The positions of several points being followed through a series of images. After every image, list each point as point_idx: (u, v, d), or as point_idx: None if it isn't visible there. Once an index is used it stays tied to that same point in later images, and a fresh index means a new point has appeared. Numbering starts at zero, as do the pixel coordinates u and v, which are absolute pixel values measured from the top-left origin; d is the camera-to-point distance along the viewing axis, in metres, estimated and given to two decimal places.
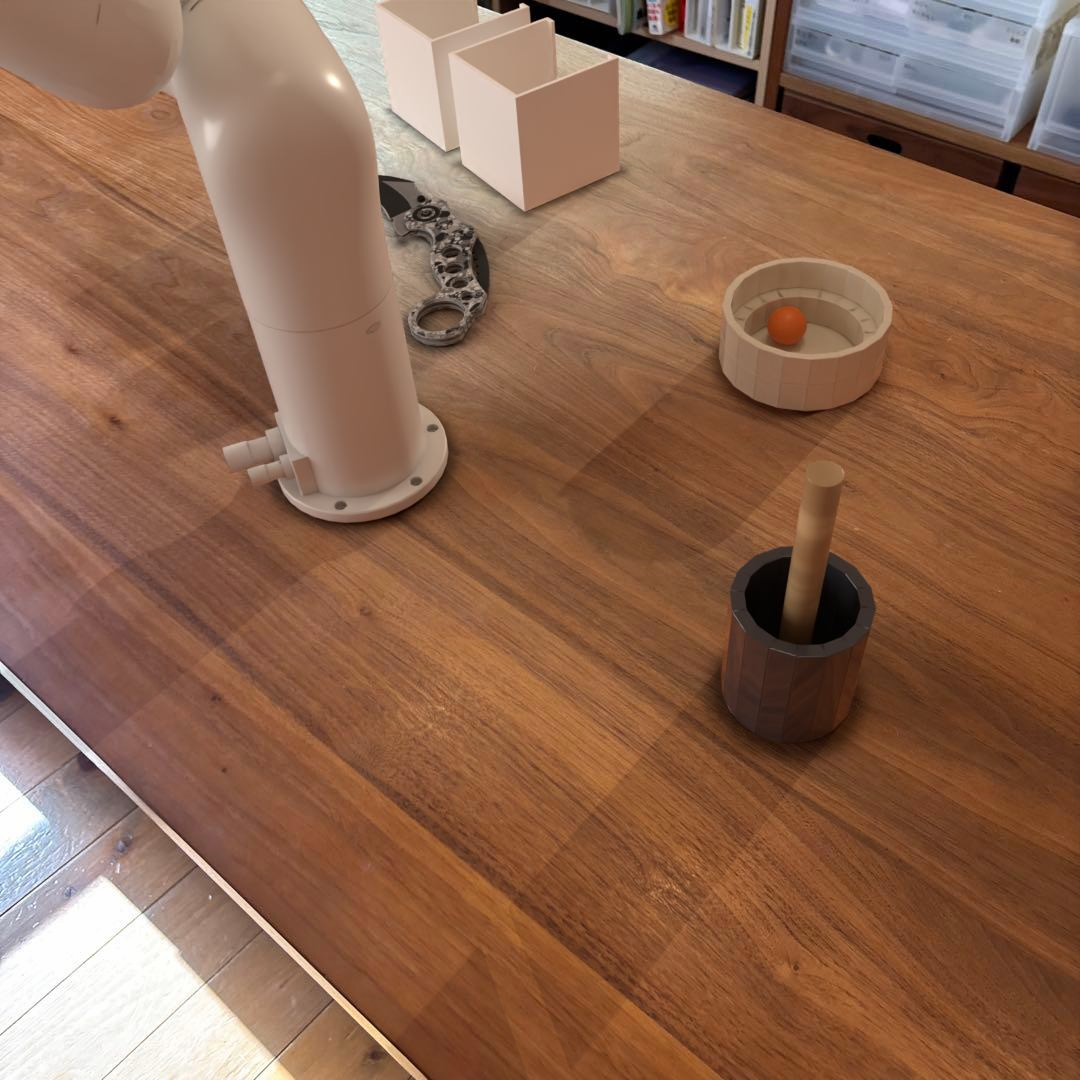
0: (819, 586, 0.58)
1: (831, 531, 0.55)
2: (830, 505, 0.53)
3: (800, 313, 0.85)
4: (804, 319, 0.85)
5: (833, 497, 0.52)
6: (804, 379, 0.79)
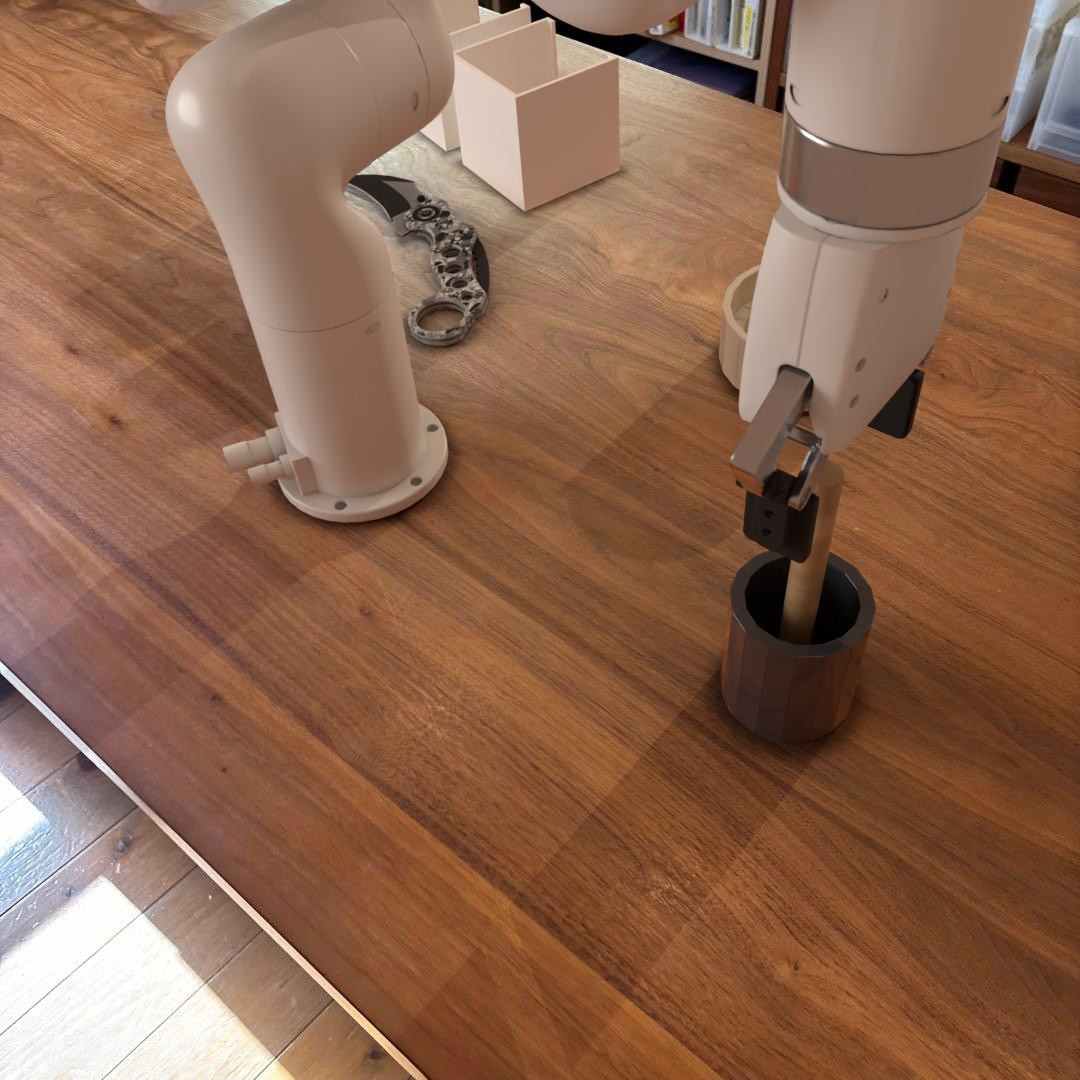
0: (819, 586, 0.58)
1: (831, 531, 0.55)
2: (830, 505, 0.53)
3: None
4: None
5: (833, 497, 0.52)
6: None
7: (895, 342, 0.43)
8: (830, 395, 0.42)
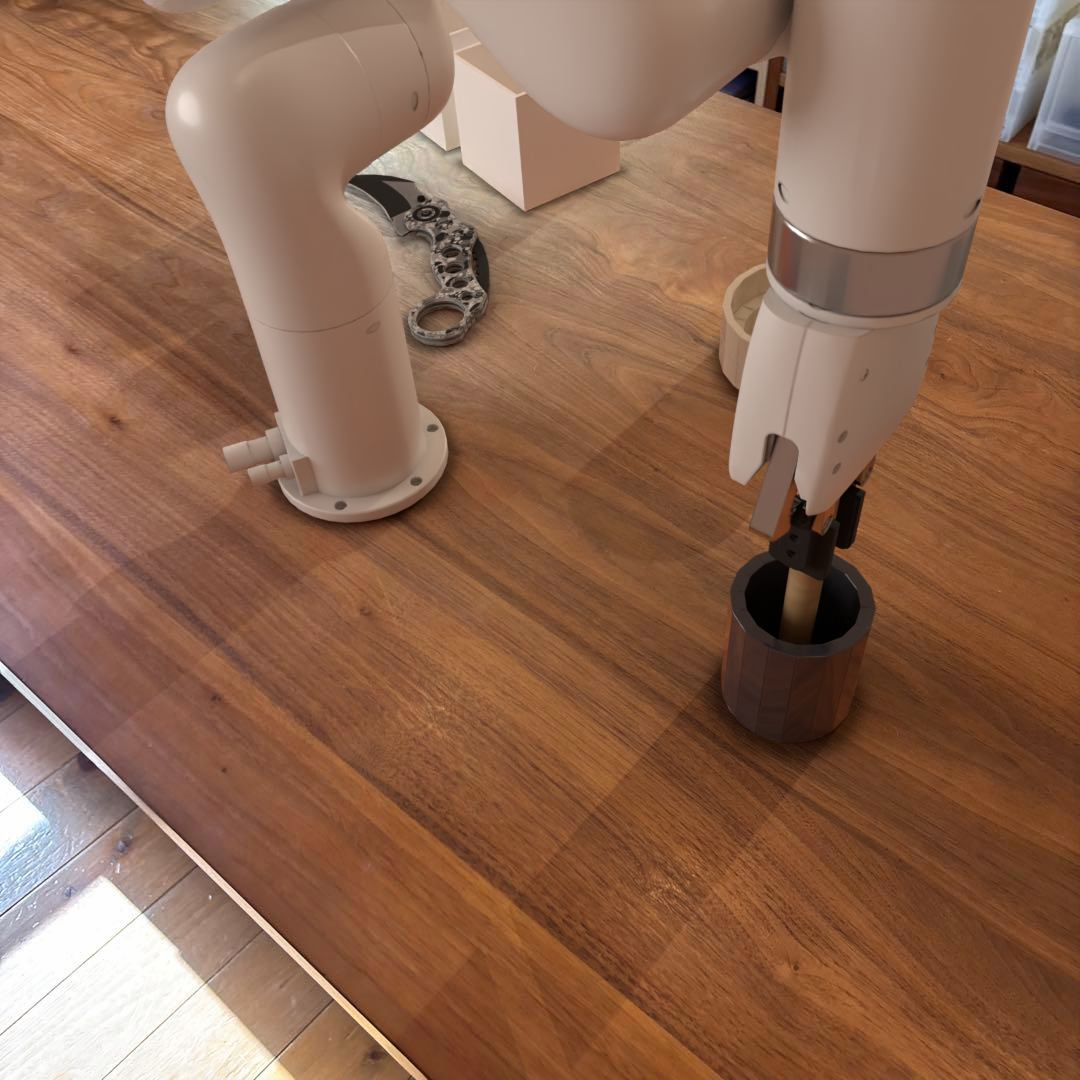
0: (819, 586, 0.58)
1: None
2: None
3: None
4: None
5: None
6: None
7: (875, 413, 0.46)
8: (814, 463, 0.45)
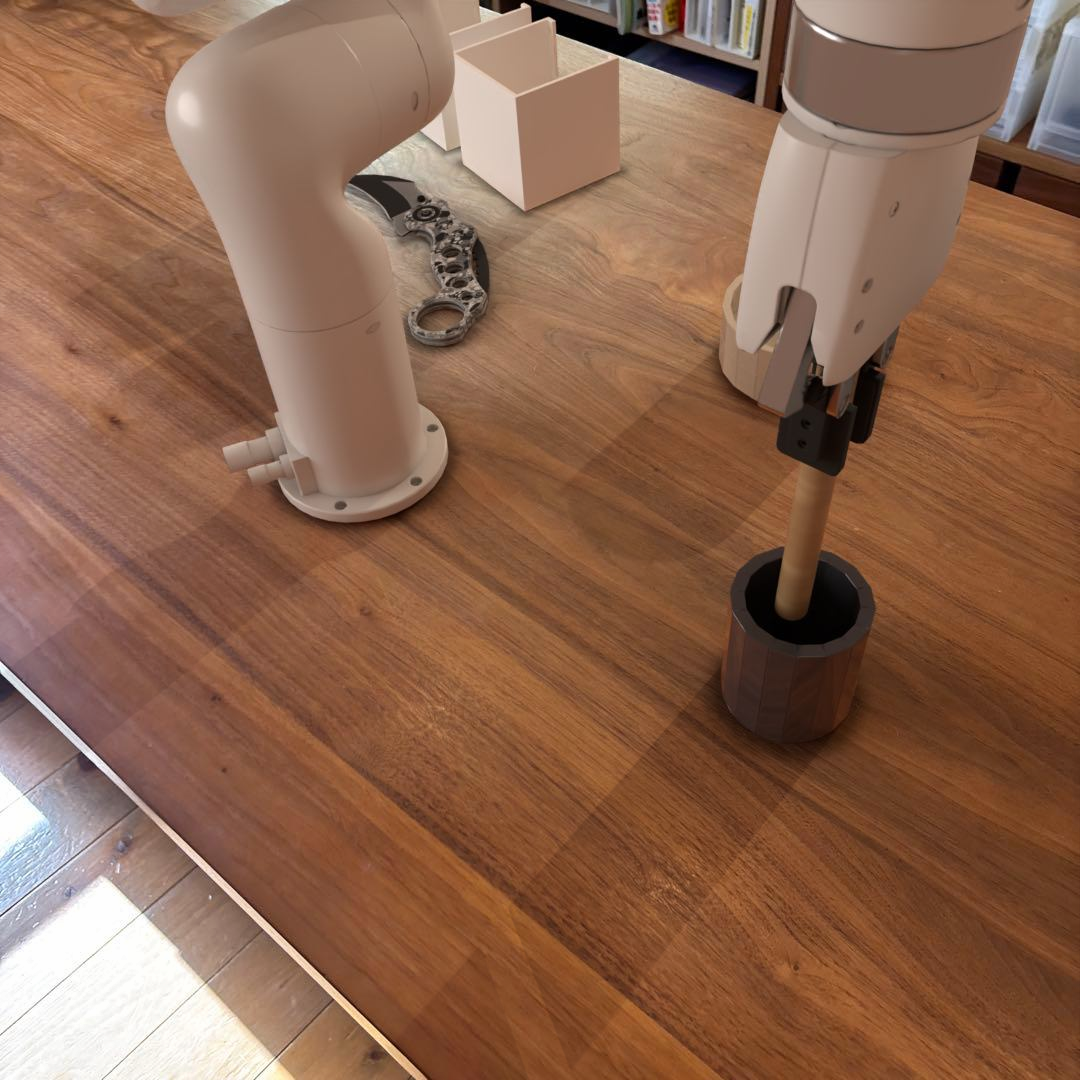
0: (831, 487, 0.52)
1: None
2: None
3: None
4: None
5: None
6: None
7: (903, 264, 0.40)
8: (834, 319, 0.40)
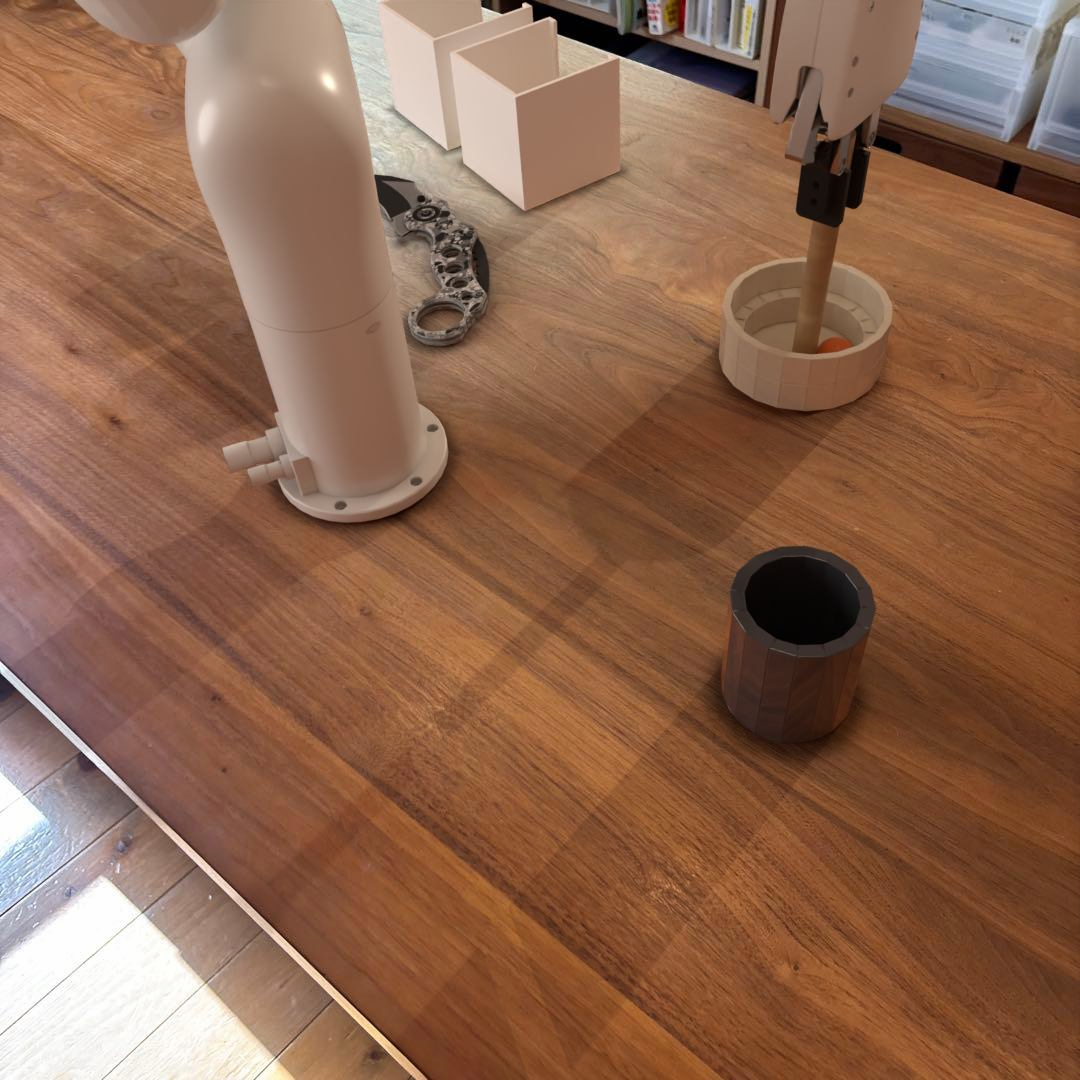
0: (834, 243, 0.75)
1: None
2: None
3: None
4: None
5: None
6: (804, 379, 0.79)
7: (878, 52, 0.63)
8: (834, 86, 0.62)
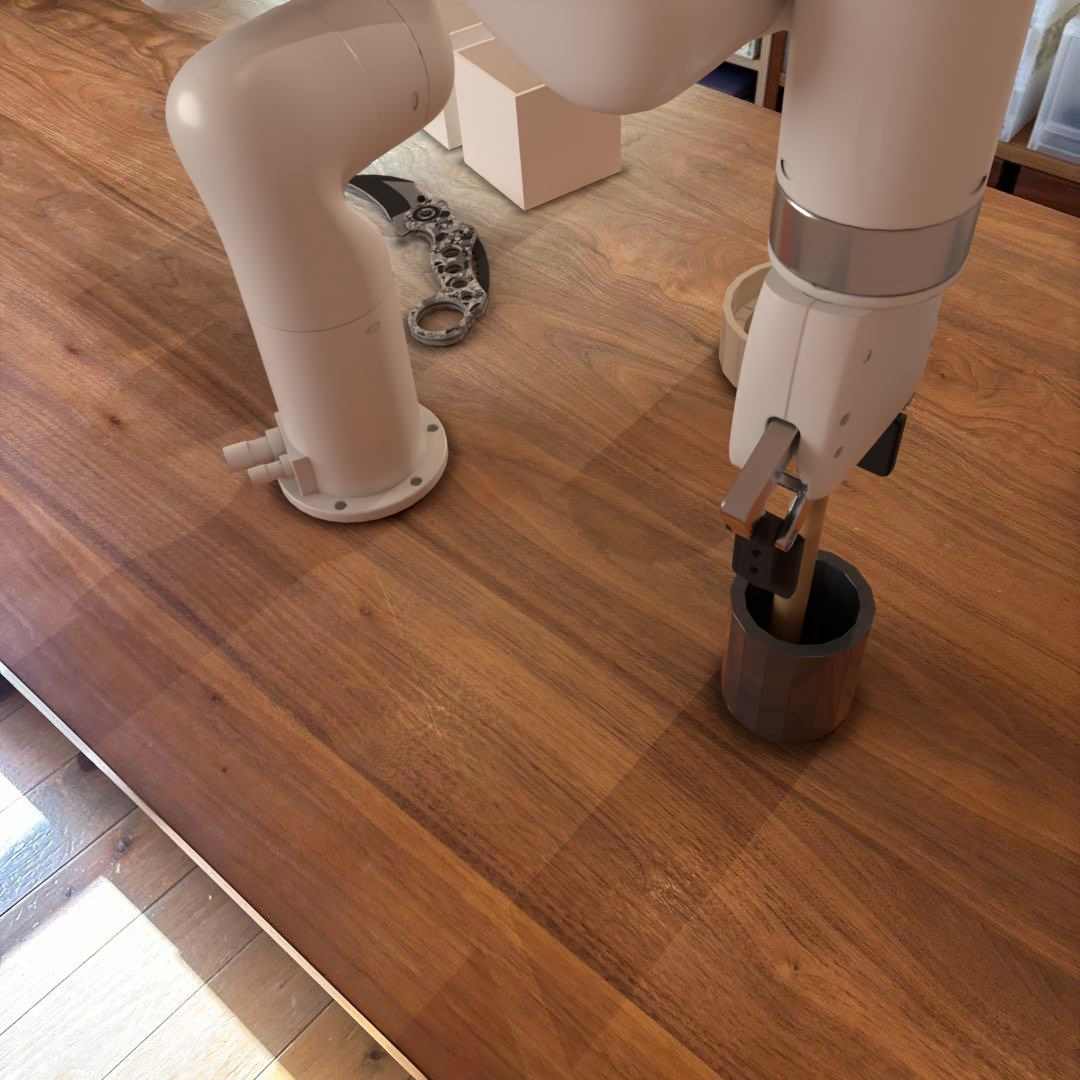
0: (810, 579, 0.58)
1: (822, 525, 0.55)
2: (822, 500, 0.53)
3: None
4: None
5: None
6: None
7: (878, 396, 0.45)
8: (816, 447, 0.45)
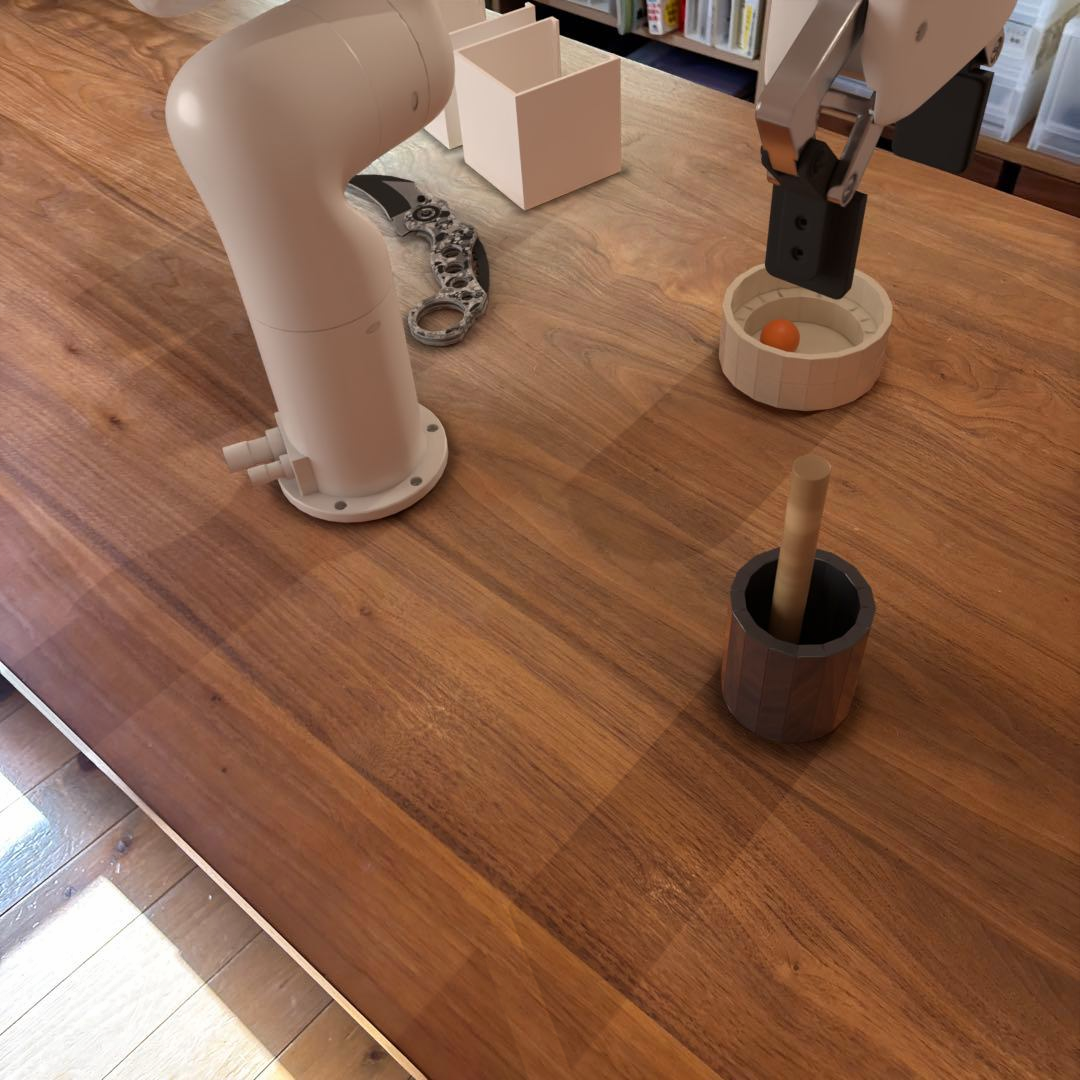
0: (809, 578, 0.58)
1: (820, 523, 0.55)
2: (819, 498, 0.53)
3: (792, 329, 0.84)
4: (796, 329, 0.84)
5: (822, 489, 0.53)
6: (804, 379, 0.79)
7: None
8: (891, 17, 0.32)
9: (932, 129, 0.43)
